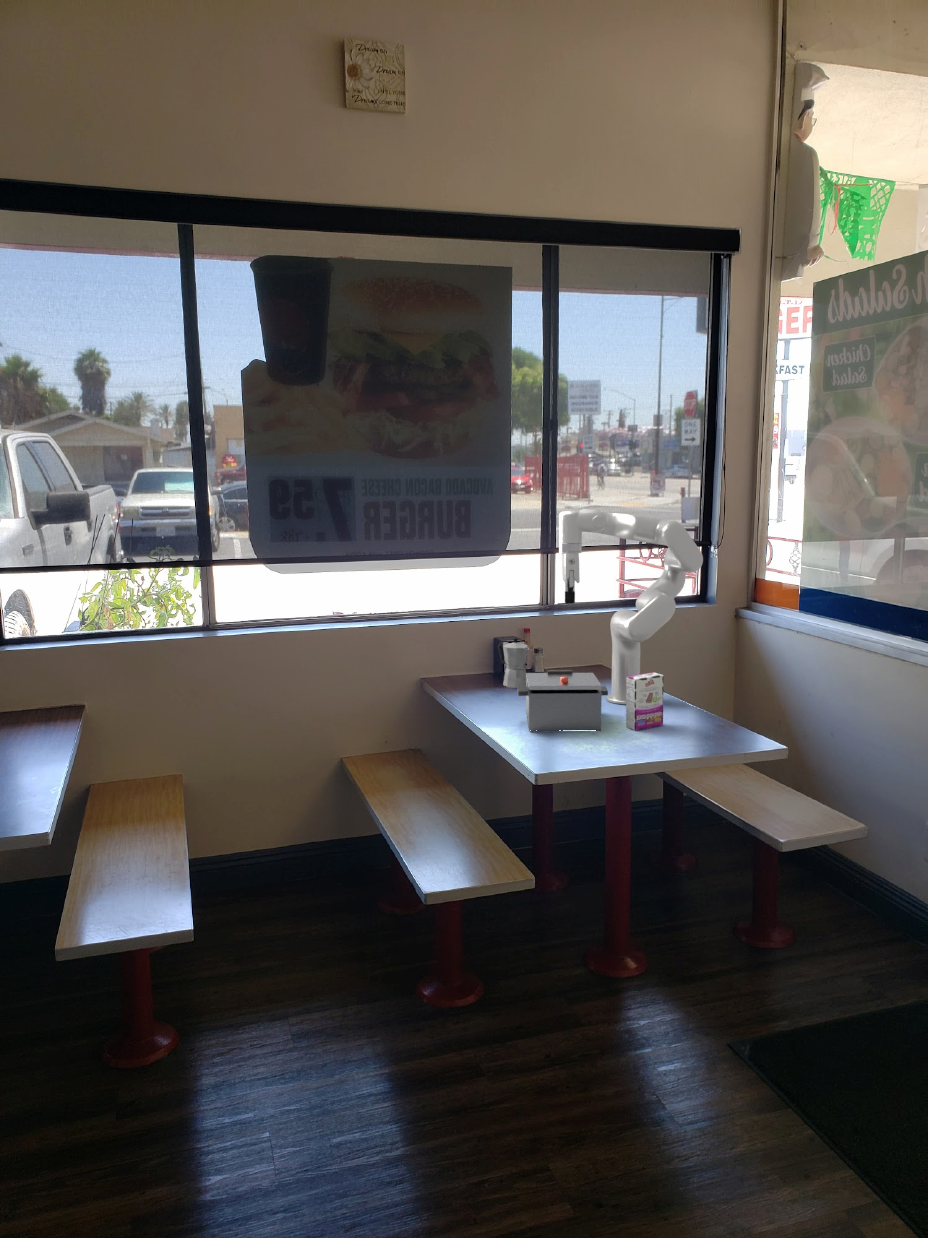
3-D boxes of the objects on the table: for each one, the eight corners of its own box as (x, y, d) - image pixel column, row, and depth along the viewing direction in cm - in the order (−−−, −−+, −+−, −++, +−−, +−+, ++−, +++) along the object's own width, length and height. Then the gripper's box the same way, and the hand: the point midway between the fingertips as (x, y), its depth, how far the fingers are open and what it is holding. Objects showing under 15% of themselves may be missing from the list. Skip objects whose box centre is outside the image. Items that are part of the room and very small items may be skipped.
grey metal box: (601, 712, 297) (602, 676, 295) (610, 731, 275) (611, 693, 273) (516, 712, 298) (516, 677, 296) (519, 731, 276) (519, 693, 274)
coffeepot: (537, 686, 333) (537, 638, 330) (520, 690, 326) (520, 641, 323) (506, 679, 344) (506, 633, 341) (489, 683, 337) (489, 636, 334)
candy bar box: (653, 722, 284) (654, 671, 282) (663, 726, 280) (664, 674, 277) (624, 727, 279) (625, 675, 277) (634, 731, 275) (635, 679, 272)
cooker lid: (593, 676, 295) (593, 666, 294) (601, 689, 273) (601, 679, 273) (525, 676, 295) (525, 667, 295) (529, 689, 274) (529, 679, 273)
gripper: (584, 550, 289) (583, 606, 293) (579, 546, 304) (578, 599, 307) (560, 550, 290) (560, 606, 293) (557, 546, 304) (556, 600, 307)
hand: (569, 603), depth 300 cm, fingers closed
